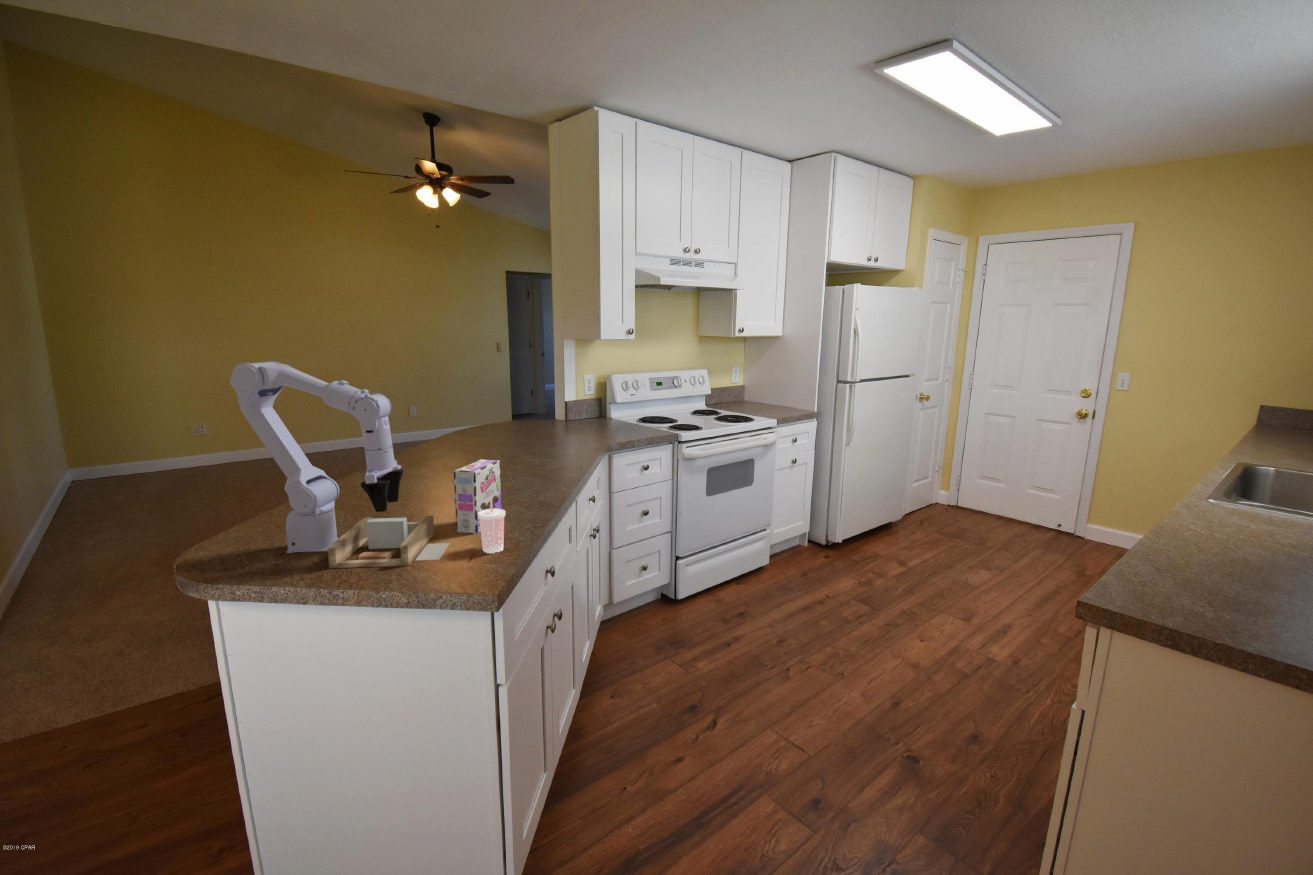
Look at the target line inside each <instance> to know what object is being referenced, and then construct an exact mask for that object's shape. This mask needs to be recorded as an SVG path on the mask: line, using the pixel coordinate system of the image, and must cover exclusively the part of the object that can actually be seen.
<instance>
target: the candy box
mask: <svg viewBox="0 0 1313 875" xmlns="http://www.w3.org/2000/svg"><path fill="white" fill-rule="evenodd" d="M453 480H454V482H453V484H454V502H455V503H454V504H455V523H456V524H455V527H456V533H462V534H473V535H475V534H479V533H481V529H480V520H479V518H478V512H480V511H482V510H485V509H490V491H492V506H493V509H495V508H496V509H503V507H502V504H503V503H502V502H503V501H502V485H501V484H502V482H501V460H498V459H497V460H496V459H482V458H480V459H478V460H477V461H474V462H472V463H470V464H467V465H465V466H462V467H459V468H457V469H454V470H453Z"/></svg>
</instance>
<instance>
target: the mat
mask: <svg viewBox="0 0 1313 875" xmlns="http://www.w3.org/2000/svg"><path fill="white" fill-rule="evenodd" d="M450 544H451V542H444V543H443V542H442V543H441V542H438V543H426V544H425V545H426V546H424V547H423V548H422V550H421V551H420V552H419V553H418V555H417V556H416V557H415V559H414V561H415V562H417V561H418V562H420V561H439V560H440V559H441V558H442V556H443V555H444V553H445V551H446V550H447V548H448V547H449V545H450Z"/></svg>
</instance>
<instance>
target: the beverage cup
mask: <svg viewBox="0 0 1313 875" xmlns="http://www.w3.org/2000/svg"><path fill="white" fill-rule="evenodd" d="M505 517H506V510H505V509H503V508H502V509H496V508H495V509H493V506H492V491H490V509H485V510H482V511H480V512H478V518H479V520H480V529H481V532H480V536H481V544H482V552H483V551H484V552H483V553H485V552H486V554H496V553H495V552H498V553H500V551H501V552H502V551H504V542H505V541H504V539H505V536H504V535H505Z"/></svg>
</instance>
